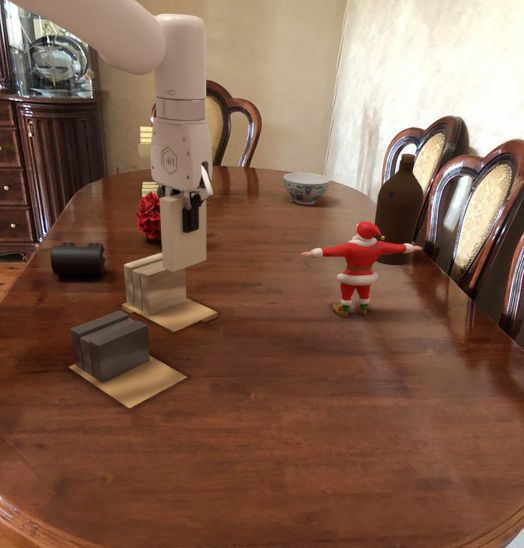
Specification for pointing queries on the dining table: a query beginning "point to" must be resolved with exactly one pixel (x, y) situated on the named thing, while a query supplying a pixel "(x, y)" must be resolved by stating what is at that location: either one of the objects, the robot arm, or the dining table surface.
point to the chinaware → (306, 186)
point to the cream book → (181, 235)
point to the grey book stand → (120, 359)
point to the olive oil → (399, 209)
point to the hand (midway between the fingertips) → (184, 227)
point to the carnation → (151, 215)
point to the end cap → (78, 260)
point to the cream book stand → (161, 294)
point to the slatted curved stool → (145, 152)
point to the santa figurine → (359, 264)
